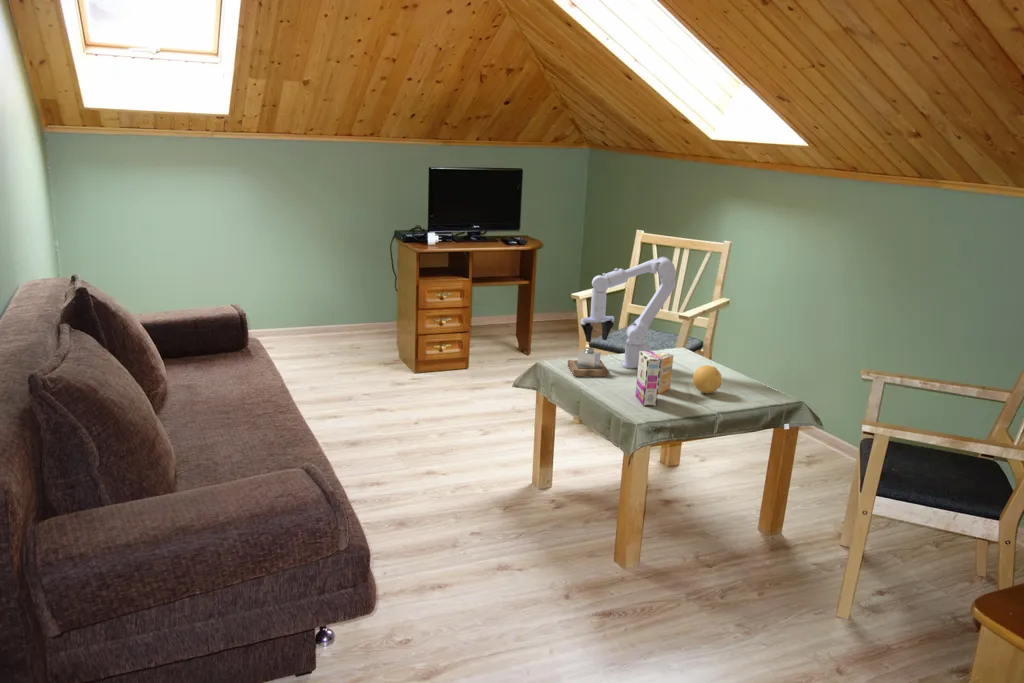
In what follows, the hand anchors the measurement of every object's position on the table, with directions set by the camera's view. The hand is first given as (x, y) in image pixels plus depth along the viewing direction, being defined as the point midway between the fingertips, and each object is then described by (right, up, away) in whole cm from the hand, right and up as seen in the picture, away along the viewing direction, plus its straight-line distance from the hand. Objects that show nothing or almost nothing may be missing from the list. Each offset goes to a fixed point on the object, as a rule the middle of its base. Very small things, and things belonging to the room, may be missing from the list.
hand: (596, 340), depth 310 cm
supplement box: (+20, -18, -26) cm, 38 cm away
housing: (-4, -9, -9) cm, 13 cm away
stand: (-4, -12, -8) cm, 15 cm away
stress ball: (+36, -19, -27) cm, 49 cm away
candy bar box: (+13, -21, -38) cm, 45 cm away
